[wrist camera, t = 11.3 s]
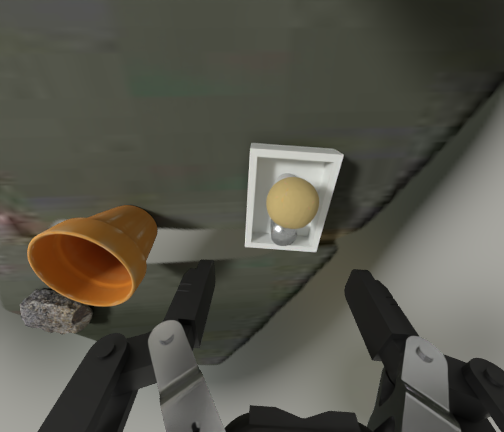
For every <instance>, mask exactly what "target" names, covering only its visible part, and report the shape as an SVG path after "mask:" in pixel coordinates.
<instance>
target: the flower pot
mask: <svg viewBox="0 0 504 432" xmlns="http://www.w3.org/2000/svg"><path fill="white" fill-rule="evenodd" d="M156 236H157V225H156V223H155V221H154V219H153V218H152V217H151V215H150V214H148V213H147V212H146V211H145V210H143V209H141V208H139V207H136V206H131V205H124V206H120V207H116V208H113V209H110V210H107V211H104V212H102V213H99V214H96V215H93V216H91V217H88V218H72V219H68V220H66V221H63V222H61V223H59V224H57V225H55V226H53V227H51V228H50V229H48V230H46V231H44V232H42V233H41V234H39V235H37V236H36V237H34V238H33V239H32V240H31V242H30V244H29V246H28V251H27V254H28V260H29V263H30V265H31V267H32V269H33V270H34V272H35V273H36V274H37V275H38V277H39V278H40V279H41V280H42V281H43V282H44V283H46V284H47V285H48V286H49V287H50V288H52V289H53V290H55V291H56V292H58V293H60V294H61V295H63V296H65V297H67V298H69V299H72V300H74V301H77V302H80V303H84V304H88V305H93V306H114V305H118V304H121V303H123V302H125V301H127V300H128V299H129V298H130V297H131V296H132V295H133V293H134V292H135V290H136V289H137V287H138V286H139V284H140V283H141V281H142V280H143V278H144V276H145V273H146V260H147V258H148V255H149V253H150V250H151V248H152V246H153V243H154V241H155V238H156Z"/></svg>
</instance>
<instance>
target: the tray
mask: <svg viewBox="0 0 504 432" xmlns="http://www.w3.org/2000/svg"><path fill="white" fill-rule="evenodd" d="M343 156H344V155H343V154H342V153H340V152H338V151H337V150H335V149H330V148H316V147H302V146H288V145H274V144H260V143H251V147H250V160H249V179H248V197H247V215H246V234H245V247H255V248H268V249H281V250H294V251H307V252H316V251H317V247H318V244H319V240H320V237H321V233H322V230H323V226H324V223H325V219H326V216H327V212H328V209H329V205H330V202H331V198H332V195H333V191H334V188H335V184H336V181H337V177H338V174H339V170H340V167H341V163H342V160H343ZM285 173H290V174H293V175H294V176H296V177H298V178H302V179H304V180H306V181H308V182H309V183H310V184H311V185H312V186H313V187H314V188H315V189H316V191H317V193H318V196H319V208H318V211H317V214H316V216H315V217H314V218H313V220H312V221H311V222H310V223H309V224H308V225H306V226H305V227H303V228H299V229H296V232H297V238H296V240H295V241H294V242H293V243H292V244H290V245H288V246H279V245H277V244H275V243H274V242H273V241H272V239H271V230H270V220H271V218H270V216H269V214H268V212H267V207H266V200H267V195H268V193H269V191H270V189H271V188H272V186H273V185H274V183H275V180H276V179H277V178H278V177H279V176H280V175H282V174H285Z"/></svg>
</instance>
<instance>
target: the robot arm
mask: <svg viewBox="0 0 504 432" xmlns="http://www.w3.org/2000/svg"><path fill="white" fill-rule="evenodd" d="M214 288H215V267H214V260H200V262H199V264H198V267H197V269H194V268H190V269H189V270H188V271H187V272H186V273H185V274H184V276H183V278H182V280H181V282H180V285H179V287H178V289H177V292H176V294H175V296H174V298H173V300H172V303H171V305H170V307H169V310H168V312H167V314H166V316H165V318H164V320H163V321H162V323H160V324H159V325H158V326H156V327H155V328H154V329H153V330H152V331H151V332H148V333H146V334H142V335H139V336H135V337H131V338H127V339H126V338H125V336H124V335H122V334H120V333H113V334H109V335H107V336H105V337H103V338H101V339H100V340H98V341H97V342H96V343H95V344H94V345H93V346H92V347H91V348H90V350H89V351H88V353H87V354H86V356H85V357H84V359H83V361H82V362H81V364H80V365H79V367H78V368H77V370H76V372H75V373H74V375H73V376H72V378H71V380H70V381H69V383H68V384H67V386H66V388H65V390H64V391H63V392H62V394H61V395H60V397H59V399H58V400H57V402H56V403H55V405H54V407H53V408H52V410H51V411H50V413H49V415H48V416H47V418H46V419H45V421H44V422H43V424H42V426H41V427H40V429H39V430H38V432H123V429H124V427H125V424H126V421H127V419H128V416H129V413H130V411H131V408H132V405H133V403H134V400H135V397H136V395H137V392H138V389H140V388H143V387H146V386H149V385H152V384H155V383H157V385H158V389H159V393H160V406H161V411H162V415H163V420H164V424H165V428H166V432H496V431H495V429H494V428H493V426H492V425H491V423H490V422H489V420H488V419H487V418H488V417H490V416H491V417H492V418H493V420H494V421H495V423H496V425H497V426H498V427H499V429H500V430H501V432H504V371H503V370H502V369H501V368H499V367H498V366H496V365H495V364H493V363H491V362H489V361H487V360H484V359H481V358H473V359H471V360H470V361H469V362H468V363H465V362H463V361H460V360H458V359H455V358H452V357H449V356H446V355H444V354H442V353H441V351H440V350H439V349H438V348H437V347H436V346H434V345H433V344H432V343H431V342H429V341H428V340H426V339H424V338H422V337H419V335H418V334H417V332H416V331H415V329H414V328H413V327H412V325H411V323H410V322H409V320H408V319H407V317H406V316H405V315H404V313H403V311H402V310H401V308H400V307H399V306H398V304H397V302H396V301H395V300H394V299H393V296H392V295H391V293H390V292H389V290H388V289H387V288H386V287H385V286H384V285H383V284H382V283H381V282H380V281H378V280H375V279H374V278H373V276H372V274H371V273H370V272H369V271H368V270H356V269H354V270H352V272H351V274H350V276H349V279H348V281H347V283H346V286H345V297H346V300H347V302H348V305H349V307H350V309H351V312H352V314H353V316H354V319H355V321H356V323H357V326H358V328H359V330H360V333H361V335H362V337H363V340H364V342H365V345H366V347H367V349H368V352H369V354H370V356H371V358H372V360H374V361H382V363H383V364H384V368H383V370H382V374H381V378H380V383H379V388H378V393H377V398H376V402H375V407H374V410H373V413H372V415H371V416H370V419H369V421H368V424H367V427H366V426H364V425H363V424H361V423H359V422H358V421H357V418H356V415H355V413H350V412H337V411H328V412H324V413H321V414H318V415H315V416H312V417H308V418H300V417H297V416H295V415H293V414H290V413H288V412H286V411H283V410H281V409H279V408H276V407H264V406H251V405H250V411H249V413H246V414H243V415H241V416H239V417H237V418H236V419H234V420H233V421H232V422H230V423H229V424H228V425H227V426H226V427H225V428H224V426H223V424H222V422H221V419H220V416H219V414H218V411H217V409H216V406H215V404H214V401H213V399H212V396H211V394H210V392H209V389H208V386H207V384H206V381H205V379H204V377H203V374H202V372H201V371H200V370H199V367H198V365H197V362H196V360H195V357H194V355H193V348H200V345H201V341H202V337H203V333H204V329H205V325H206V321H207V317H208V313H209V308H210V304H211V300H212V296H213V292H214Z"/></svg>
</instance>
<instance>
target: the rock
mask: <svg viewBox="0 0 504 432" xmlns="http://www.w3.org/2000/svg"><path fill="white" fill-rule="evenodd" d="M20 309H21V318H22V320H24V323H25V325H26V326H28V327H32V328H41V329H42V330H44V331H47V332H51V333H52V332H58V333H60V334H65V333H76V332H79V331H81V330H83V329H84V328H85V327H86V326H87V325H88V323H90V320H91V319H92V315H93V311H92V310H93V309H91V308H90V307H89V306H88V304H84V303H80V302H77V301H74V300H72V299H69V298H67V297H65V296H63V295H61V294H60V293H58V292H56V291H51V290H46V289H43V290H37V289H36V290H35V291H34V292H33V293H32V294H31V295H30V296H29V297H27V298H26V299H24V300H23V301H22V303H21V304H20Z"/></svg>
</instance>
